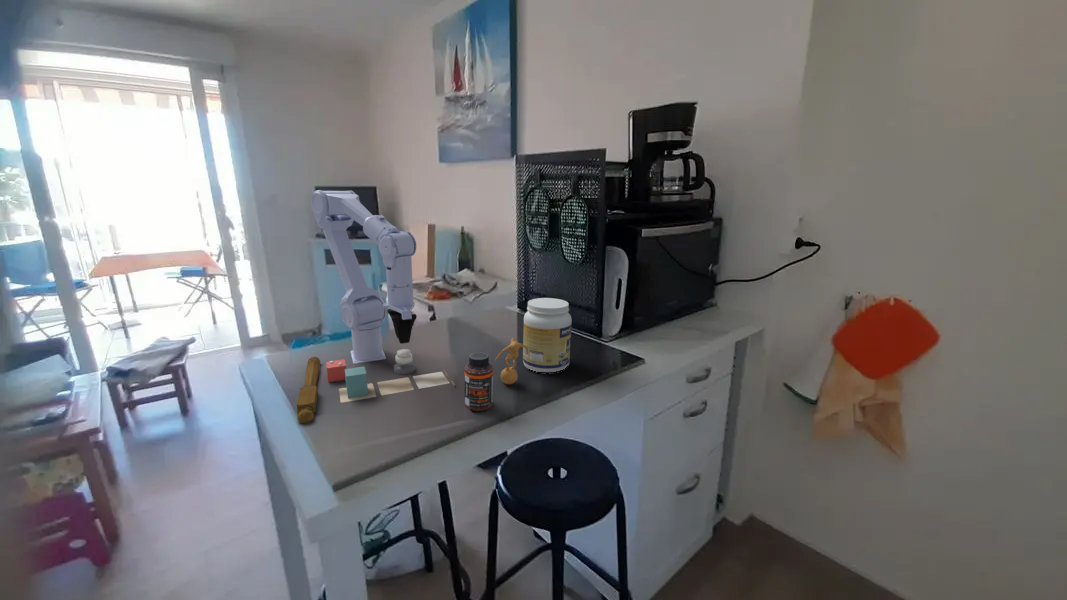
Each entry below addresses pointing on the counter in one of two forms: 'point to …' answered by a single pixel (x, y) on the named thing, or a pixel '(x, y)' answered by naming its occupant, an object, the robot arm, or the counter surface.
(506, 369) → the figurine
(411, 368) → the dome base
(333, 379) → the red die
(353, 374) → the teal rectangular block
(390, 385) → the game board
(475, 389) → the supplement bottle
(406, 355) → the dome
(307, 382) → the tap handle
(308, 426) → the counter surface
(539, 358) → the supplement tub
